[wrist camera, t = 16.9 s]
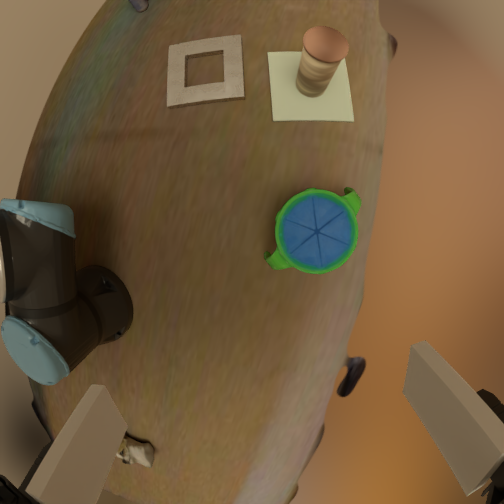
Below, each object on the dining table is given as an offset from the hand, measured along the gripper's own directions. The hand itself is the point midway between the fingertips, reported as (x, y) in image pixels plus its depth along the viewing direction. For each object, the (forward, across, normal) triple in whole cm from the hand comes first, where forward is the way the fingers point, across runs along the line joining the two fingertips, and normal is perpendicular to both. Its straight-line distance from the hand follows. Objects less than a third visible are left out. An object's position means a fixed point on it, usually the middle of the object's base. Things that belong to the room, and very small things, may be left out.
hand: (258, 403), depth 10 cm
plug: (+35, +13, +24) cm, 44 cm away
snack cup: (+35, +9, +1) cm, 36 cm away
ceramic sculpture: (+36, -39, -49) cm, 72 cm away
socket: (+37, -3, +29) cm, 47 cm away
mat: (+36, +14, +24) cm, 45 cm away
